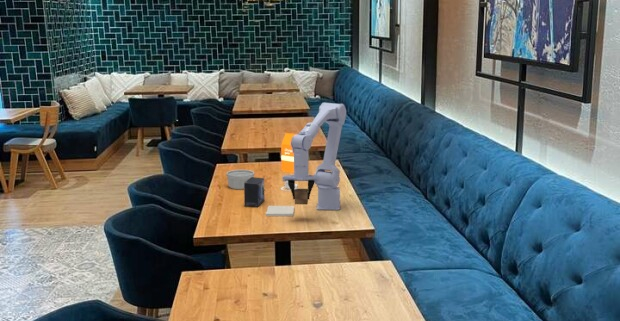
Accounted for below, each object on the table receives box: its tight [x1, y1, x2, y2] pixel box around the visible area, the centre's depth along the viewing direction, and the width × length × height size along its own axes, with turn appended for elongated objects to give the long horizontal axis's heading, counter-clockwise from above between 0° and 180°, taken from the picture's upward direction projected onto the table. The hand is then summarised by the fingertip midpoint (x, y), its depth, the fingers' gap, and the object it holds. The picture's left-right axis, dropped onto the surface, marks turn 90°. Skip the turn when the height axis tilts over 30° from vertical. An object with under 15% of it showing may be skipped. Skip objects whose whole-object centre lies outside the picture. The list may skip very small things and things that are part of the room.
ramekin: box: [226, 169, 255, 190], centre depth 283 cm, size 13×13×7 cm
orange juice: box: [280, 132, 297, 174], centre depth 313 cm, size 8×9×20 cm
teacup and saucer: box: [280, 181, 298, 192], centre depth 280 cm, size 9×8×4 cm
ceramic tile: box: [265, 205, 295, 217], centre depth 244 cm, size 11×11×1 cm
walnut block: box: [294, 188, 309, 205], centre depth 233 cm, size 5×5×5 cm
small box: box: [243, 176, 265, 208], centre depth 255 cm, size 11×6×10 cm, turn 168°
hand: (301, 198), depth 233 cm, fingers closed on walnut block, 5 cm apart
